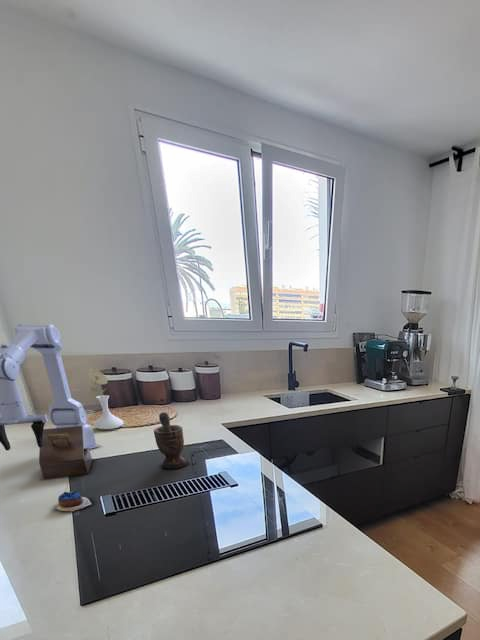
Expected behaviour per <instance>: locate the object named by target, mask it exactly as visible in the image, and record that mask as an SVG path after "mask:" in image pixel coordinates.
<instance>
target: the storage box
mask: <svg viewBox="0 0 480 640" xmlns="http://www.w3.org/2000/svg"><path fill="white" fill-rule="evenodd" d="M90 450H91V449H89V448H85V449H84V460H82V461H73V462H64V463H55V464H47V465H39V467H40V471H41V474H42V477H43V479H44V480H49V479H50V480H51V479H57V478H65V477H73V476H83V475H88V474H89V471H90V468H91V465H92V463H93V458H92V455H91V451H90Z"/></svg>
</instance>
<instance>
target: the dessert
mask: <svg viewBox="0 0 480 640" xmlns="http://www.w3.org/2000/svg"><path fill="white" fill-rule="evenodd" d="M57 502H58V504H57V506H56V510H58V511H61V512H75V511H78V510H81V509H84V508H86V507H88V506H91V505H92V502H91V501H90V499H89V498H88V497H87V496H86V497H85V496H82V495H81V494H80V492H78V491H77V490H75V491H63V493H61V494H60V495H59V496H58V498H57Z"/></svg>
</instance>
